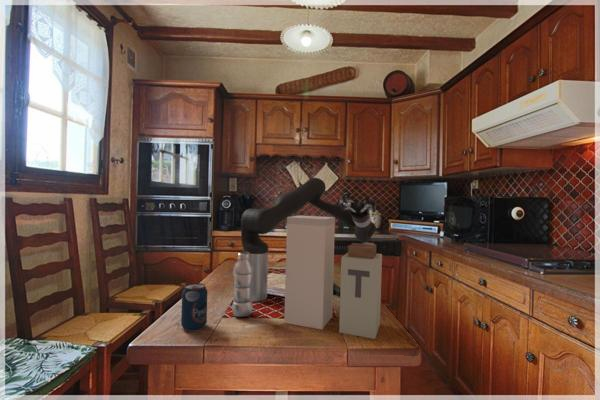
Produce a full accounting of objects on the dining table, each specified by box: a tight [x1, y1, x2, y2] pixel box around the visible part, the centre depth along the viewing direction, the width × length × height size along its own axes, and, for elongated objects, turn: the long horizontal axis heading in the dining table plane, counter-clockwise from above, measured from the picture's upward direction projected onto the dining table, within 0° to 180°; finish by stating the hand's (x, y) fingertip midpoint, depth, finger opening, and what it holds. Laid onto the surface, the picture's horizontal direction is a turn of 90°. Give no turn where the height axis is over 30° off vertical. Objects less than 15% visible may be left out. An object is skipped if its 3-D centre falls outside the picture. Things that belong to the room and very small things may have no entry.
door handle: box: [333, 282, 341, 298], centre depth 133 cm, size 3×20×16 cm
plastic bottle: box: [231, 251, 254, 318], centre depth 103 cm, size 6×7×20 cm
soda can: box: [180, 282, 208, 333], centre depth 93 cm, size 7×7×12 cm
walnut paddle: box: [347, 241, 377, 259], centre depth 100 cm, size 18×7×3 cm, turn 159°
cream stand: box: [283, 215, 336, 330], centre depth 101 cm, size 11×12×32 cm
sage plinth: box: [338, 252, 383, 340], centre depth 95 cm, size 11×10×22 cm
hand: (355, 196), depth 126 cm, fingers open, 8 cm apart
